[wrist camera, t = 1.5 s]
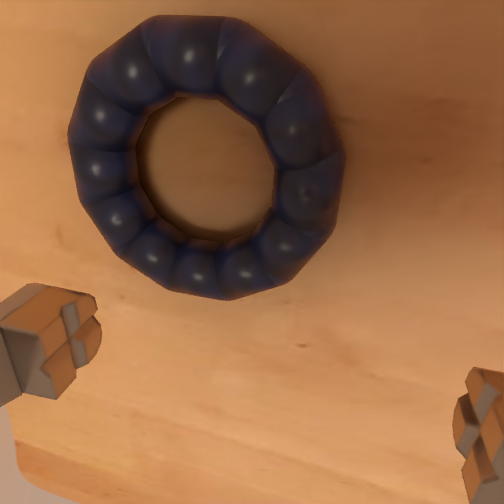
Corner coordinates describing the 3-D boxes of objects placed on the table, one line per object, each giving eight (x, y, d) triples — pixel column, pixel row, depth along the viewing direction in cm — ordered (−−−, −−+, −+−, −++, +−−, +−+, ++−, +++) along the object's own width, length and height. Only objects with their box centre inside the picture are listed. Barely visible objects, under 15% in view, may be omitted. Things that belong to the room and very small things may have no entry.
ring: (49, 106, 20) (3, 114, 17) (267, -53, 15) (247, -74, 12) (177, 303, 24) (155, 334, 22) (384, 235, 19) (388, 265, 16)
